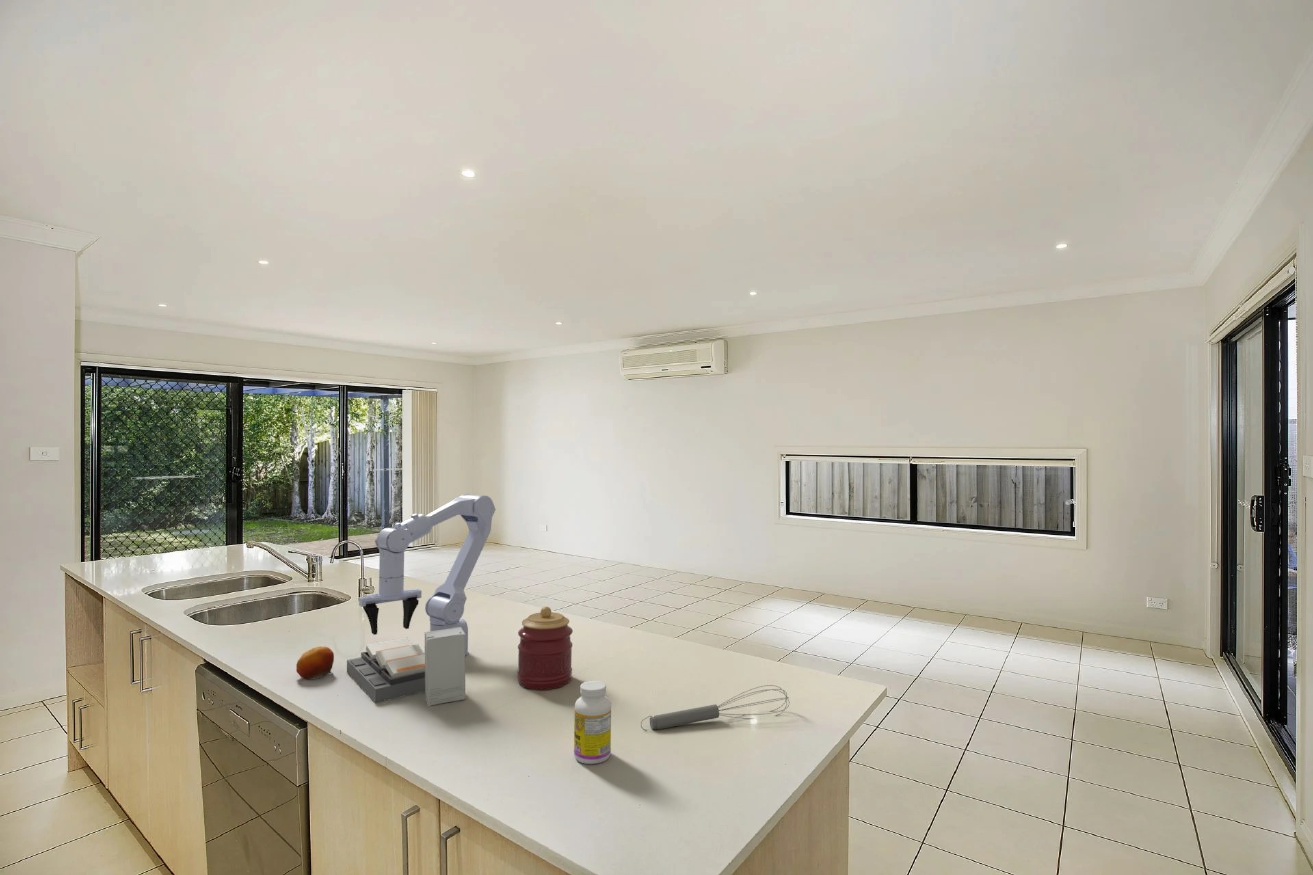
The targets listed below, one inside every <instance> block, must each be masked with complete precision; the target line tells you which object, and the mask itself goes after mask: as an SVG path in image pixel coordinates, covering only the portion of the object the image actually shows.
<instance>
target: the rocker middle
mask: <svg viewBox="0 0 1313 875" xmlns="http://www.w3.org/2000/svg"><path fill="white" fill-rule="evenodd" d="M422 654H424V650H423V649H422V648H421V646H420V644H419V643H418V644H417V643H416V644H413V645H411V646H406V647H400V648H395V649H390V650H384V651H379V652H376V659H377V661H378V663H379V665H380V667H381V669H383V668H386V662H387V661H392V660H397V659H402V658H407V657H412V656H417V655H422Z"/></svg>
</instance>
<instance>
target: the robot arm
mask: <svg viewBox="0 0 1313 875" xmlns="http://www.w3.org/2000/svg"><path fill="white" fill-rule="evenodd" d="M495 511H496V507H495V503H494V501H493V499H492V498H491V497H490V496H488V495H476V494H470V493H464V494H461V495H460V496H456V497H455V498H453V500H451V501H449V502H448V503H446V504H444V505H442V506H440V507H439V508H436V510H434V511H431V512H429V513H428V514H427V515H425V514H423V513H413V514H411V515H410V516H411V517H410V518H408V519H406V520H404V521H402V522H396V523H395V524H394V527H385V528H383V529H382V530H380V532H379V533H378V534H377V537H376V539H374V543H375V546H376V548H377V549H378V551H379V564H378V565H379V568H378V569H379V573H378V593H374V594H370V595H366V596H360V597H358V599H359V600H358V606H360V607H362V608H363V610H364V612H365V614H366V617H367V619H368V621H369V626H370V629H371V631H370V632H371V634H372V635H374V636H375V635H378V631H379V630H378V617H379V611H380V608H379V607H378V605H377V604H385V603H391V602H393V603H394V602H398V601H402V610H403V616H402V619H403V620H402V627H403V629H406V630H408V629H410V624H411V620H412V617H413V615H414V612H415V611H416V608H417V607H418V605H419V604H420V603H419V601H420V600H419V599H421V598H422V594H423V593H422V590H421V589H407V590H405V588H404V586H405V583H404V582H405V581H404V580H405V550H407V548H408V547H409V546H410V544H412V543H413V542H415V541H417V540H419V539H421V538H423V537H424V536H427V535H428V534H430V533H431V531H432V529H433V527H435V526H437V525H439V524H441V523H443V522H445V521H448V520H450V519H451V518H455V517H456V516H458V515H459V516H460V517H461V518H462V520H463V521H464V522H465V524H466V525H467V528H468V532H467V535H466V537H465V539H464V541H463V544H462V545H461V548H460V550H459V552H458V554H457V556H456V558H455V560H454V562H453V565H452V567H451V568H450V571H449V572H448V575H447V577H446V579H445V581H444V583H442V584H441V585H440V586H438V587H437V588H436V589H435V591H434V593H433V594H432V595H431V596H430V597H429V598H428V599H427V601H426V602H425V607H424V610H425V613H426V615H427V616H428V617H429V622H430V623H429V632H430V631H437V630H444V629H451V628H457V627H461V628H462V630H463V631H464V633H465V656H467V655H470V653H469V651H468V650H469V648H468V647H469V627H468V623H467V621H466V620H465V619H464V618H462V617H463V615H464V612H465V604H466V601H467V595H466V593H465V588H466V586H467V584H468V583H469V579H470V577H471V576H472V573H473V570H474V569H475V567H476V565H477V562H478V560H479V557H480V555H481V553H482V551H483V549H484V547H485V545H486V542H487V540H488V538H489V535H490V534H491V531H492V524H493V523H492V520H493V516H494V514H495V513H496V512H495ZM423 653H424V654H425V651H423Z"/></svg>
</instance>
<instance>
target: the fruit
mask: <svg viewBox="0 0 1313 875" xmlns="http://www.w3.org/2000/svg"><path fill="white" fill-rule="evenodd" d="M334 660H335V654H334V651H333V650H332V649H331V648H329V647H328V646H317V647H313V648H311V649H308V650H306V651H305V652H303V653H302V655H301V656H300V657H299V659H297V662H296V665H295V666H296V667H295V668H296V674H298V675H299V676H300V677H301V678H302V679H303V680H304V679H305V680H313V679H319V680H320V679H321V677H322V676H323V675H327V674H331V675H334V673H333V672H332V669H333V665H334V662H335V661H334Z"/></svg>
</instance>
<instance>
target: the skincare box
mask: <svg viewBox="0 0 1313 875" xmlns="http://www.w3.org/2000/svg"><path fill="white" fill-rule="evenodd" d="M424 652H425V691H424V697H425V701H426V704H427V706H428V707H431V706H434V705H440V704H445V703H450V702H451V703H452V702H457V701H463V700H466V655H465V633H464V631H463V630H462V628H461V627H457V628H451V629H444V630H437V631H430V630H429V631H425V632H424Z"/></svg>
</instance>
